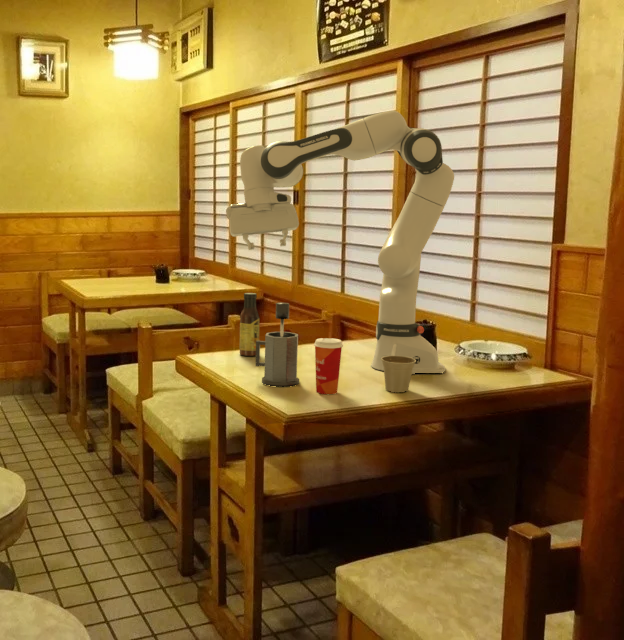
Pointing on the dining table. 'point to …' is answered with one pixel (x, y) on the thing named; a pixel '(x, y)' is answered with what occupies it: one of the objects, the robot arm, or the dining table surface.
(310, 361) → the dining table surface
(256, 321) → the sauce bottle
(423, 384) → the dining table surface
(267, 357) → the press pot
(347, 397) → the dining table surface
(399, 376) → the flower pot
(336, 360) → the paper cup
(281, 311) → the plunger
